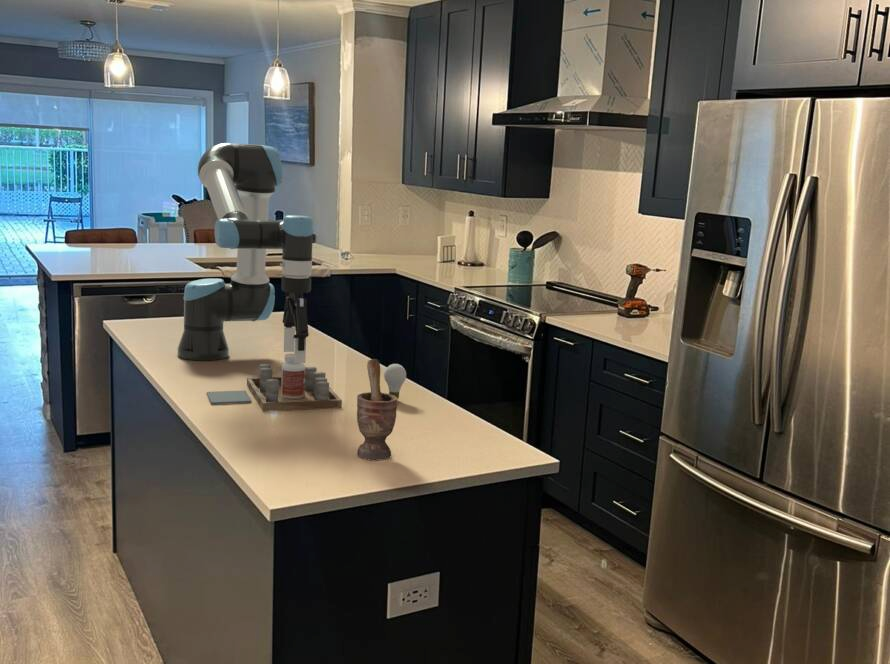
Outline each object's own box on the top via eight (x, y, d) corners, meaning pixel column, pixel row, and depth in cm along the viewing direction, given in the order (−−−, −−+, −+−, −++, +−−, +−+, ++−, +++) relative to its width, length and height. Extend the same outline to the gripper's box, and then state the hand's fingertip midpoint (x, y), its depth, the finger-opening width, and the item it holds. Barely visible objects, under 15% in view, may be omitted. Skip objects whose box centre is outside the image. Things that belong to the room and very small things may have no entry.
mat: (206, 393, 227) (206, 391, 227) (245, 392, 231) (245, 390, 231) (211, 404, 218) (211, 402, 218) (251, 403, 222) (251, 400, 222)
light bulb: (408, 399, 235) (410, 363, 233) (399, 404, 229) (402, 367, 227) (387, 396, 237) (389, 360, 235) (379, 401, 231) (381, 364, 229)
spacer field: (246, 385, 239) (247, 363, 237) (318, 382, 246) (319, 362, 245) (262, 411, 216) (263, 387, 215) (341, 407, 223) (342, 385, 222)
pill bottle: (308, 398, 230) (309, 357, 228) (286, 400, 227) (287, 358, 225) (298, 392, 235) (299, 352, 233) (277, 394, 232) (278, 353, 230)
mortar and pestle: (340, 447, 193) (344, 359, 189) (374, 442, 198) (379, 356, 194) (366, 463, 184) (371, 371, 180) (401, 458, 189) (406, 368, 185)
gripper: (272, 270, 235) (271, 347, 239) (292, 282, 212) (289, 368, 216) (300, 270, 238) (298, 346, 241) (322, 283, 215) (319, 367, 219)
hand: (294, 357), depth 229 cm, fingers open, 13 cm apart
